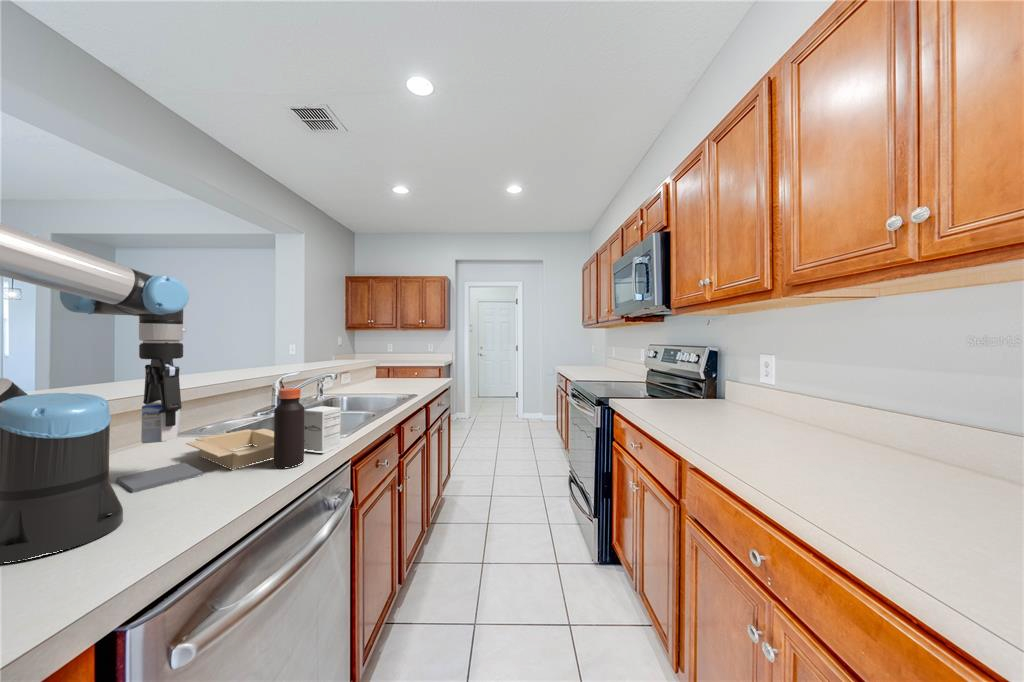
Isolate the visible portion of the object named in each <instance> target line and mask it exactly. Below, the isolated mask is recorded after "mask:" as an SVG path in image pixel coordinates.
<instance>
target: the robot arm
mask: <svg viewBox="0 0 1024 682" xmlns="http://www.w3.org/2000/svg"><path fill="white" fill-rule="evenodd" d="M0 277H4V278H8V279H12V280H16V281H19V282H23V283H27V284H31V285H34V286H40V287H42V288H48V289H51V290H54V291H58V292H59V299H60V303H61V304H62V306H63V307H64V308H65V309H66V310H68V311H69V312H72V313H77V314H78V313H80V314H88V315H111V316H113V315H115V316H133V317H134V316H135V317H136V316H137V317H138V340H139V341H141V342H142V343H140V344H139V345H138V356H139V359H141V360H150V364H145V366H144V368H145V377H144V378H145V379H144V380H145V381H144V390H143V392H144V393H143V401H142V402H143V404H144V405H147V404H149V403H152V402H155V401H158V400H161V404H162V410H159V411H158V413H161V441H165V442H167V441H173V440H177V439H178V434H177V411H178V409H180V410H182V399H181V395H182V394H181V385H180V367H179V366H175V365H174V359H182V358H183V357H184V344H183V343H182V342H180V341H183V340H184V333H185V332H187V331H186V330H187V329H186V328H184V309H185V307H186V306H187V305H188V303H189V299H190V295H189V294H190V293H189V290H188V289H187V287H186V285H185V284H184V283H183V282H182V280H180V279H179V278H177V277H172V276H165V275H160V274H159V275H158V274H157V275H153V274H152V275H151V274H148V273H145V272H142V271H139V270H136V269H133V268H130V267H127V266H123V265H121V264H119V263H116V262H113V261H110V260H107V259H104V258H101V257H98V256H96V255H92V254H90V253H87V252H83V251H81V250H78V249H75V248H72V247H69V246H66V245H63V244H61V243H58V242H56V241H52V240H50V239H46V238H44V237H41V236H38V235H35V234H32V233H29V232H27V231H23V230H21V229H18V228H15V227H11V226H10V225H6V224H4V223H2V222H1V223H0ZM109 406H110V404H109V402H108V400H107V399H105V398H103V397H102V396H98V395H94V394H89V393H77V392H76V393H69V392H52V393H51V392H47V393H46V392H45V393H37V394H28V393H27V392H26V391H24V390H23V389H22V388H21V387H19V386H18V385H17V384H15V383H14V382H13V381H12V380H10V379H9V378H3V377H2V378H1V377H0V563H4V562H10V561H11V562H12V561H18V560H23V559H28V558H31V557H35V556H39V555H42V554H46V553H53V552H57V551H60V550H65V549H68V548H72V547H75V548H77V547H76V546H78V547H80V546H83V545H85V543H86V544H89V543H90V541H91V542H93V541H96V540H98V539H99V537H100V538H102V537H104V536H106V535H108V534H110V533H112V532H113V531H115V530H116V529H117V528H119V527H120V526H121V525H122V524H123V522H124V507H123V506H122V503H121V502H120V500H119V498H118V496H117V493H116V492H115V490H114V488H113V486H112V484H111V482H110V432H111V430H110V429H111V427H110V426H111V422H112V416H111V413H110V407H109ZM118 526H119V527H118ZM114 529H115V530H114ZM109 532H110V533H109ZM107 533H108V534H107ZM105 534H106V535H105ZM103 535H104V536H103ZM101 536H102V537H101ZM97 538H98V539H97ZM95 539H96V540H95ZM92 540H93V541H92ZM82 544H83V545H82ZM79 545H80V546H79ZM72 549H73V548H72Z"/></svg>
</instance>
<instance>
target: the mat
mask: <svg viewBox="0 0 1024 682" xmlns="http://www.w3.org/2000/svg"><path fill="white" fill-rule="evenodd" d="M202 474H203V471H202V470H200V469H197V468H196V467H193V466H191V465H189V464H188V463H185V462H181V463H177V464H176V463H175V464H172V465H167V466H163V467H157V468H153V469H149V470H145V471H140V472H136V473H131V474H126V475H122V476H117V477H116V482H117V483H118V484H120V485H121V486H123V487H124V488H125V489H126V490H128V491H129V492H130V493H136V492H141V491H144V490H148V489H153V488H156V487H160V485H161V486H164V484H165V485H169V484H173V483H176V482H175V481H177V482H180V481H179V480H181V481H184V480H183V479H185V480H187V479H186V478H189V479H191V478H190V477H193V478H195V477H194V476H197V477H199V476H198V475H201V476H203V475H202ZM172 482H173V483H172ZM168 483H169V484H168Z"/></svg>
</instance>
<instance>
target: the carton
mask: <svg viewBox="0 0 1024 682" xmlns="http://www.w3.org/2000/svg"><path fill="white" fill-rule="evenodd" d="M249 444H254V445H257V446H256V447H255V446H251V447H248V448H247V447H246V448H243V449H239V448H238V447H241V446H245V445H249ZM185 445H188V446H190V447H192V448H195V449H197V450H199V457H200V456H203V457H205V458H207V459H210V460H212V461H214V462H217V463H219V464H221V465H224V466H226V467H228V468H231V469H235V468H239V467H242V466H246V465H249V464H252V463H256V462H260V461H264V460H267V459H270V458H274V430H271V429H267V428H260V429H259V428H258V429H254V430H253V429H250V428H249V429H243V430H237V431H230V432H227V433H220V434H215V435H209V436H203V437H197V438H195V440H193V441H189V442H186V443H185ZM233 448H238V450H234V449H233ZM230 449H233V450H230ZM203 457H202V458H203ZM205 458H204V459H205ZM207 459H206V460H207ZM210 460H209V461H210ZM212 461H211V462H212ZM214 462H213V463H214ZM217 463H216V464H217ZM219 464H218V465H219ZM221 465H220V466H221ZM224 466H223V467H224ZM226 467H225V468H226ZM228 468H227V469H228ZM231 469H230V470H231ZM239 469H240V468H239ZM235 470H236V469H235Z"/></svg>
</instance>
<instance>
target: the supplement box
mask: <svg viewBox="0 0 1024 682" xmlns="http://www.w3.org/2000/svg"><path fill="white" fill-rule="evenodd" d="M341 410H342V407H336V406H335V407H334V406H325V405H320V406H316V407H315V406H314V407H311V408H306V409H304V449H307V450H314V451H324V450H327V449H329V448H332V447H334V446H337V445H339V444H340V445H341V421H342V420H341V416H342V415H341V414H342V413H341V412H342V411H341Z"/></svg>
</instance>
